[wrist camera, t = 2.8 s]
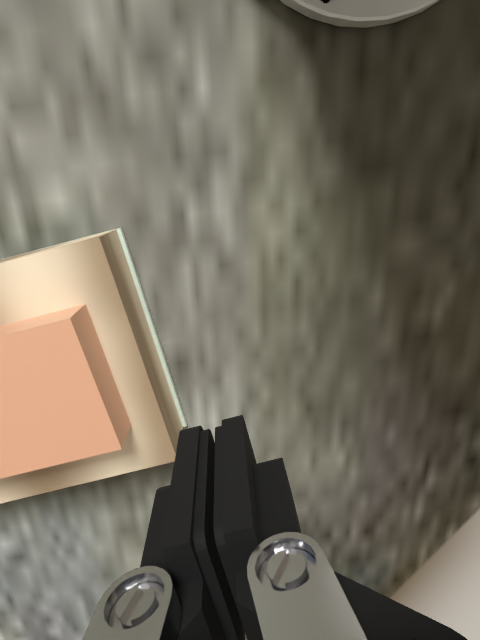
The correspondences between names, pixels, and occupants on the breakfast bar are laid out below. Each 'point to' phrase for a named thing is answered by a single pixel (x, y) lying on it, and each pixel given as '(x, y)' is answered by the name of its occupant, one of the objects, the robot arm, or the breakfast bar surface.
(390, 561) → the breakfast bar surface
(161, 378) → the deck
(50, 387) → the tile
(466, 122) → the breakfast bar surface
